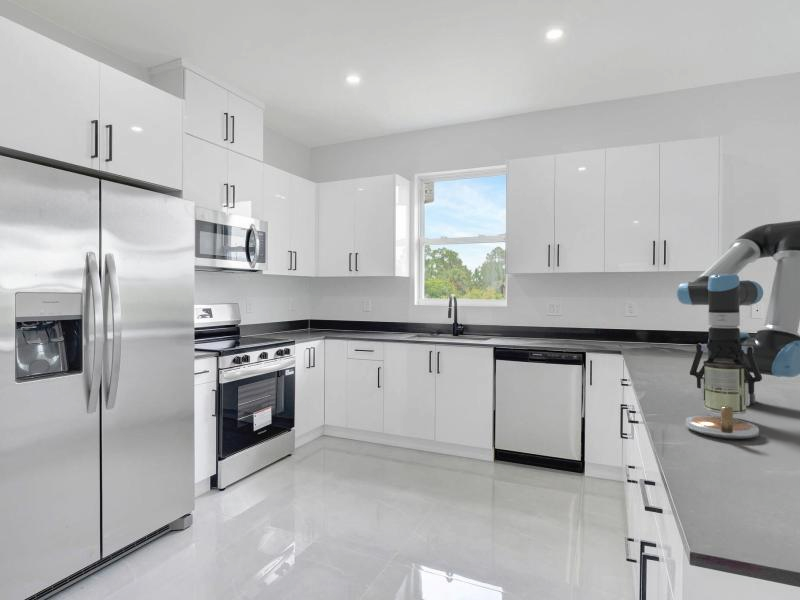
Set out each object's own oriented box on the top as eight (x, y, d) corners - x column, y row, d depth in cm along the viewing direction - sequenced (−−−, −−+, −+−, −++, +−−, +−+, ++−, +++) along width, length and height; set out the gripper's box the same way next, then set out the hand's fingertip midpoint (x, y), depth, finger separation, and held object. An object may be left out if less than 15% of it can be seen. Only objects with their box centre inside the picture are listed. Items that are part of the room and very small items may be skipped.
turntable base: (700, 423, 132) (700, 421, 132) (752, 432, 123) (752, 429, 123) (689, 433, 123) (689, 430, 123) (744, 442, 115) (744, 439, 115)
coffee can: (699, 404, 143) (699, 359, 142) (739, 406, 139) (738, 360, 139) (710, 413, 133) (709, 364, 133) (752, 415, 130) (752, 365, 129)
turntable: (682, 418, 134) (682, 392, 134) (750, 424, 127) (750, 397, 127) (690, 434, 118) (690, 405, 118) (767, 442, 112) (767, 411, 112)
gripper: (676, 326, 141) (677, 398, 141) (771, 329, 125) (772, 410, 126) (683, 324, 146) (684, 394, 147) (774, 327, 130) (775, 405, 131)
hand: (724, 402), depth 136 cm, fingers closed on coffee can, 10 cm apart
